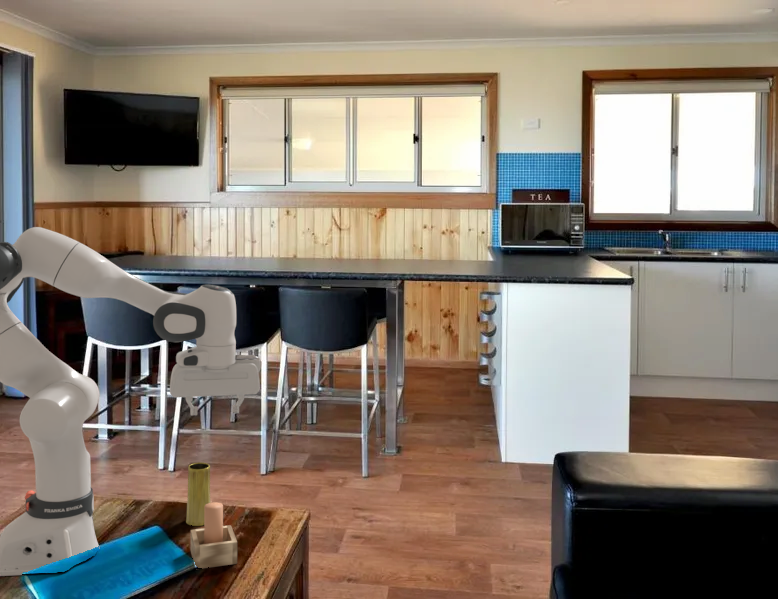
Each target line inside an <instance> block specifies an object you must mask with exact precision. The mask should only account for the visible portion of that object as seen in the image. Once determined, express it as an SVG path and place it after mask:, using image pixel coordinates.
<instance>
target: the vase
mask: <svg viewBox="0 0 778 599" xmlns="http://www.w3.org/2000/svg"><path fill="white" fill-rule="evenodd" d="M187 470H188V472H187V473H188V474H187V501H186V502H187V503H186V519H185V523H186V524H187V525H189V526H191V525H192V526H193V527H201V526H202V527H203V526H204V506H205V505H206V504H208V503H211V465H210V464H209V463H207V462H194V463H191V464H188V467H187Z"/></svg>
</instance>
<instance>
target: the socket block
mask: <svg viewBox="0 0 778 599" xmlns="http://www.w3.org/2000/svg"><path fill="white" fill-rule="evenodd" d="M190 554H191V557H192V558H193V559H192V558H191V559H192V561H193V560H194V562H195V565H196V566H197V567H198V568H202V569H209V568H216V567H222V566H228V565H229V566H230V565H236V564H238V540H237V538H236V534H235V532H234V530H233V527H232V525H230V524H229V525H223V542H217V543H209V544H204V527H203V528H196V529H190ZM208 567H209V568H208Z"/></svg>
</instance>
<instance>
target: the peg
mask: <svg viewBox="0 0 778 599" xmlns="http://www.w3.org/2000/svg"><path fill="white" fill-rule="evenodd" d="M203 526H204V527H203V528H204V544H209V543H217V542H223V526H224V505H223V503H222V502H217V501H216V502H215V501H213V502H212V501H211V502H210V503H208V504H206V505H205V506H204V525H203Z"/></svg>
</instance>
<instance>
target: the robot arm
mask: <svg viewBox="0 0 778 599" xmlns="http://www.w3.org/2000/svg"><path fill="white" fill-rule="evenodd" d="M26 278H34V279H38V280H39V281H42V282H44V283H46V284H48V285H50V286H52V287H55V288H56V289H58V290H60V291H63V292H65V293H67V294H70V295H73V296H76V297H80V298H84V299H96V298H97V299H99V298H107V299H108V298H109V299H115V300H119V301H121V302H124V303H127V304H129V305H131V306H133V307H134V308H135V307H136V308H138V309H139V310H141V311H144V312H145V313H148V314H150V315H152V316H153V320H152V322H153V323H152V325H153V330H154V331H155V333H156V334H157V336H158V337H159V338H161V339H163V340H165V341H167V342H170V343H181V342H184V341H191V340H196V346H195V347H191V348H187V349H185V350H182V351H178V352H177V353H176V356H175V362H176V364H175V365H174V366H173V368H172V371H171V375H170V381H169V382H170V383H169V393H170V396H171V397H173V398H185V401H186V403H187V405H188V407H189V409H190V411H189V412H190V416H192V417H193V416H198V414H199V413H198V406H197V405H196V406H194V405H193V403H192V402H193V398H196V397H197V398H198V397H213V396H214V397H219V396H221V397H223V396H236V397H237V401H236V402H235V404H231V414H240V407H241V405H242V404H243V402H244V400H245V395H257V394H258V393H259V391H260V390H261V387H260V386H261V385H260V375H259V373H260V371H261V369H262V361H261V359H260V358H259V356H255V354H247V355H246V354H236V352H237V350H236V349H237V348H236V347H237V346H236V344H237V341H236V336H235V330H236V327H237V304H236V297H235V294H234V293H233V292H232V291H231V290H230V289H228V287H225V286H221V285H215V284H202V285H200V287H198V288H197V289H195V290H193V291H191V292H189V293H186V292H173V291H167V290H165V289H162V288H160V287H157V286H156V285H153V284H151V283H149V282H147V281H146V280H143V279H141V278H139V277H136V276H134V275H133V274H130V273H129V272H127V271H125V270H124V269H123V268H122V267H119V266H118V265H116V264H115V263H113V262H112V261H110V259H108V258H106V257H105V256H103V255H101V254H100V253H99V252H97V251H96V250H94V249H92V247H91V248H90V247H89V246H87V245H85V244H84V243H82V242H80V241H78V240H76V239H73V238H71V237H70V236H67V235H65V234H62V233H59V232H57V231H53V230H51V229H47V228H44V227H41V226H33V227H30V228H28V229H26V230H25V231H23V232H22V233H21V234H20V235H19V236H18V237H17V239H16V241H15V242H14V243H13V244H12V243H10V242H7V241H0V383H1V384H2V385H3V386H4V385H5V386H7V387H11V388H14V389H15V390H17V391H19V392H21V393H22V394H23V395H25V396H26V397H28V401H27V402H26V403H25V405H24V407H23V408H22V410H21V412H20V415H19V426H20V429H21V431H22V433H23V435H25V437H27V438H28V441H29V443H30V447H31V450H32V453H33V454H32V455H33V460H34V472H35V474H34V475H35V491H34V490H31V489H30V490H28V491H27V492H26V493H25V496H24V499H25V507H24V508H25V512H23V513H22V514H21V515H19V516H18V517H17V518H15V519H14V520H12V521H11V522H10V523H9V524H8V525H6V526H5V527H4V528H3V530H2V532H1V533H0V577H5V576H6V577H7V576H23V575H22V573H23V572H28V571H30V570H33V569H36V568H39V567H41V566H44V565H46V564H50V563H52V562H56V561H59V560H62V559H65V558H69V557H71V556H74V555H77V554H79V553H83V552H85V551H87V550H91V549H93V548H95V547H98V546H99V547H100V545H99V542H98V540H97V536H96V532H95V527H94V520H93V514H94V509H95V507H94V505H95V501H94V500H95V499H94V490H93V487H92V481H91V480H92V477H91V476H92V475H91V472H92V471H91V467H92V466H91V454H90V452H89V451H88V449H87V447H86V443H85V440H84V435H83V433H84V432H83V427H84V423H85V421H86V420H88V419H89V418H90V417H91V416H92V415H93V414H94V412H95V411H96V408H97V406H98V404H99V400H100V389H99V387H98V385H97V383H96V382H95V380H94V379H92V378H91V377H89V376H87V375H84V374H81V373H79V371H76V370H75V369H73V368H72V367H71V366H70V365H69V364H67V363H66V362H64V361H63V360H61V359H60V358H58V357H57V356H56V355H55V354H53V353H52V352H51V351H49V349H48V348H46V346H44V344H42V342H41V341H40V340H39V339H38V338H37V337H36V336H35V335H34V334H33V333H32V331H30V330H29V328H27V326H26V325H25V324H24V323H23V322H22V321H21V320H20V319H19V318H18V317H17V316H16V315H15V313H14V312H13V311H12V310H11V309H10V307H9V305H8V303H10V301H11V300H12V298H13V297H14V295H15V294H16V293H17V292H18V291H19V289H20V287H21V286H22V285H23V283H24V281H25V279H26Z"/></svg>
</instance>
